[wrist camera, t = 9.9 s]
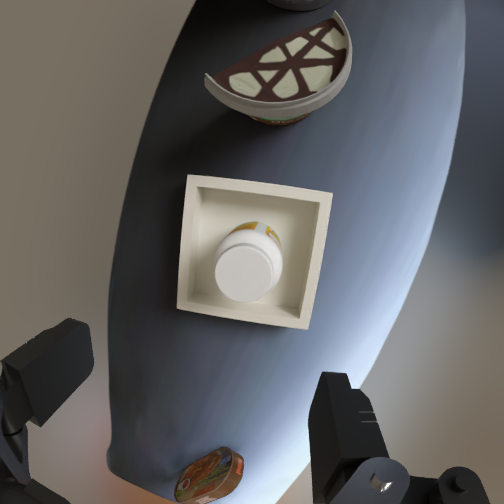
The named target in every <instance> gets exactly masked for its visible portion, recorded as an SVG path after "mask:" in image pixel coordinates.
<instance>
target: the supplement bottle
mask: <svg viewBox="0 0 504 504" xmlns="http://www.w3.org/2000/svg"><path fill="white" fill-rule="evenodd" d="M282 267H283V260H282V248H281V242H280V239H279V237H278V235H277V234H276V232H275V231H274V230H273V229H272V228H271V227H269V226H268V225H266V224H264V223H261V222H246V223H243V224H241V225H239V226H238V227H236V228H235V229H234V230H233V231H232V232H231V233H230V234H228V235H227V236H226V237H225V238H224V239H223V240H222V241H221V242H220V244H219V245H218V247H217V249H216V251H215V253H214V258H213V269H214V276H215V281H216V284H217V286H218V288H219V290H220V291H221V292H222V293H223V294H224V295H225V296H226V297H228V298H229V299H231V300H233V301H237V302H242V303H247V302H253V301H256V300H258V299H260V298H261V297H262V296H264V295H265V294H267V293H268V292H269V291H271V290H272V289H273V288H274V287H275V285H276V284H277V283H278V281H279V279H280V276H281V273H282Z"/></svg>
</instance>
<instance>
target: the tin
mask: <svg viewBox="0 0 504 504" xmlns="http://www.w3.org/2000/svg"><path fill="white" fill-rule="evenodd" d="M243 469H244V459H243V457H242V456H241V455H239V454H238V453H236V452H234V451H232V450H231V449H230V448H227V447H222V448H219V449H217V450H216V451H214V452H212V453H210V454H209V455H207V456H205V457H204V458H202V459H200V460H198V461H196V462H194V463H193V464H191V465H190V466H188V467H187V468H186V469H185V470H184V472H183V473H182V474H181V476H180V478H179V479H178V481H177V484H176V486H175V490H174V497H175V500H176V501H177V502H179V503H183V504H206V503H209V502H212V501H214V500H217V499H220V498H222V497H225V496H227V495H228V494H230V493H231V492H232V491H233V490H234V489H235V488H236V487H237V486H238V484H239V483H240V481H241V479H242V476H243Z"/></svg>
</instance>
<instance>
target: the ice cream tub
mask: <svg viewBox="0 0 504 504" xmlns="http://www.w3.org/2000/svg"><path fill="white" fill-rule="evenodd" d="M351 62H352V45H351V39H350V36H349V33H348V30H347V28H346V26H345V24H344V22H343V20H342V19H341V17H340V16H339V15H338V13H337V12H336V11H334V13H333V15H332V17H331V19H328V20H324V21H323V22H321V23H319V24H316V25H314V26H311V27H309V28H306V29H304V30H301V31H298V32H296V33H293V34H290V35H288V36H285V37H282V38H280V39H277V40H275V41H273V42H271V43H269V44H268V45H266V46H264V47H262V48H261V49H259V50H258V51H256V52H254V53H252V54H251V55H249V56H247V57H246V58H244V59H242V60H240V61H239V62H237V63H235V64H233V65H232V66H230V67H228V68H226V69H225V70H223V71H221V72H220V73H218V74H216V75H215V76H213V77H212V78H211V77H210V76H209V75H208V74H207V73H205V75H206V76H207V77H206V78H204V81H205V87H206V88H207V89H208V90H209V91H210V93H211V94H212V95H213V96H215V97H216V98H217V99H218V100H219V101H221V102H222V103H224V104H225V105H227V106H229V107H230V108H232V109H234V110H237V111H239V112H242V113H244V114H247V115H248V116H250V117H251V118H253V119H254V120H255V121H259V122H262V123H265V124H268V125H283V126H285V125H289V124H293V123H297V122H299V121H301V120H303V119H304V118H306V117H308V116H309V115H310V114H311V113H312V112H313V111H314V110H316V109H318V108H320V107H322V106H323V105H325V104H326V103H328V102H329V101H330V100H332V99H333V98H334V97H335V96H336V95H337V94H338V93H339V91H340V90H341V89H342V88H343V86H344V85H345V83H346V81H347V79H348V77H349V73H350V69H351Z"/></svg>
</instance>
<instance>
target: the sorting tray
mask: <svg viewBox="0 0 504 504" xmlns="http://www.w3.org/2000/svg"><path fill="white" fill-rule="evenodd" d="M332 195H333V193H328V192H322V191H316V190H310V189H304V188H297V187H290V186H284V185H276V184H269V183H262V182H254V181H246V180H237V179H228V178H219V177H209V176H199V175H188V176H187V184H186V193H185V203H184V212H183V223H182V234H181V247H180V260H179V276H178V294H177V309H181V310H186V311H192V312H197V313H202V314H208V315H213V316H219V317H225V318H231V319H237V320H243V321H249V322H256V323H263V324H269V325H276V326H284V327H291V328H299V329H307V330H308V327H309V322H310V318H311V313H312V308H313V304H314V299H315V294H316V289H317V284H318V279H319V274H320V268H321V263H322V257H323V252H324V246H325V240H326V234H327V228H328V222H329V215H330V209H331V202H332ZM246 222H261V223H264V224H266V225H268V226H269V227H271V228H272V229H273V230H274V231H275V232H276V234H277V235H278V237H279V239H280V242H281V248H282V260H283V267H282V273H281V276H280V279H279V281H278V283H277V284H276V285H275V287H274V288H273V289H272V290H271V291H269V292H268V293H267V294H265V295H264V296H262V297H261V298H260V299H258V300H256V301H253V302H247V303H242V302H237V301H233V300H231V299H229V298H228V297H226V296H225V295H224V294H223V293H222V292H221V291H220V290H219V288H218V286H217V284H216V281H215V276H214V269H213V258H214V253H215V251H216V249H217V247H218V245H219V244H220V242H221V241H222V240H223V239H224V238H225V237H226V236H227V235H228V234H230V233H231V232H232V231H233V230H234V229H235V228H236V227H238V226H239V225H241V224H243V223H246Z"/></svg>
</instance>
